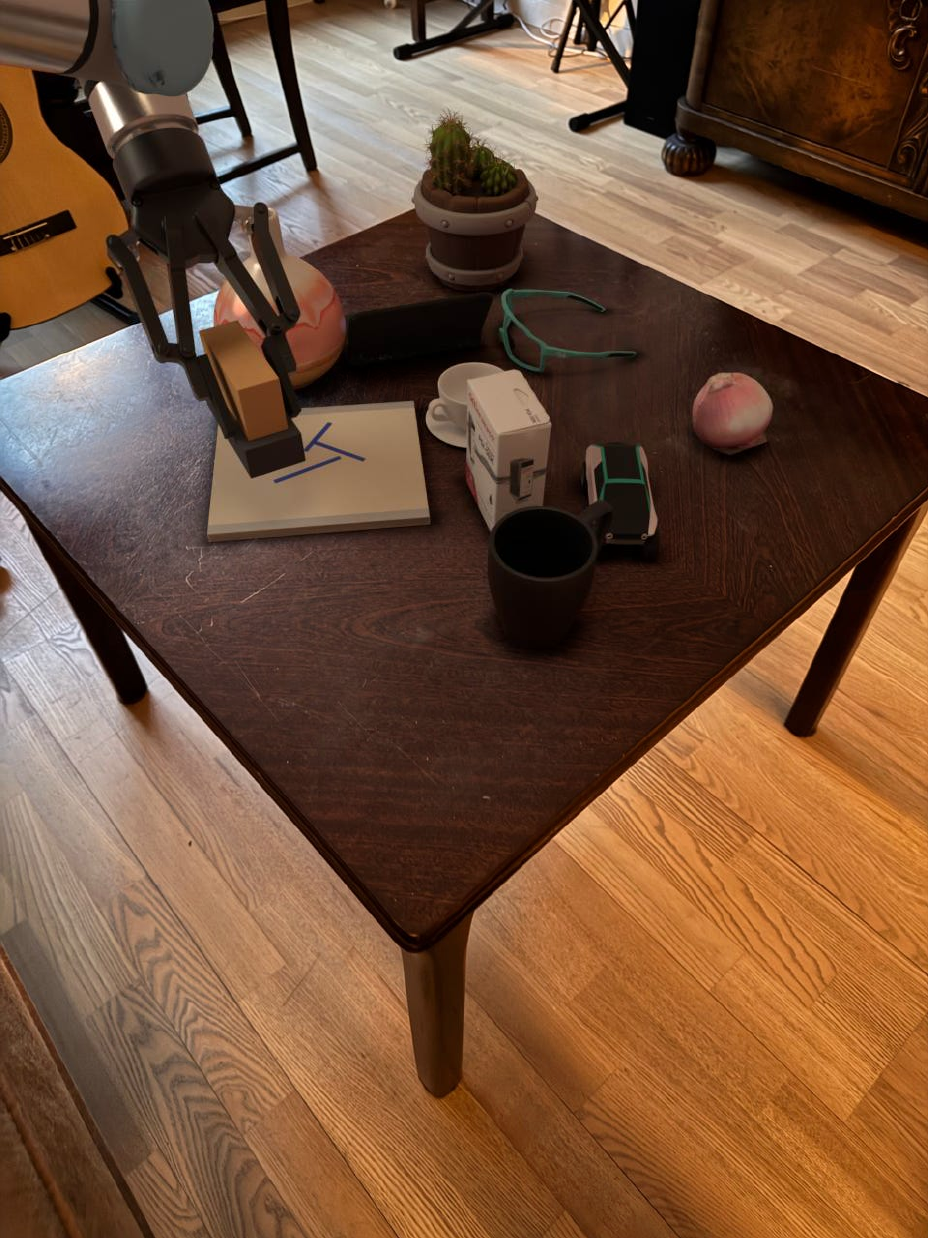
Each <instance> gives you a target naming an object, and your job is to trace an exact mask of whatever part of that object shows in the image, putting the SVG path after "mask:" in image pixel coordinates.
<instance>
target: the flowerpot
mask: <svg viewBox="0 0 928 1238" xmlns="http://www.w3.org/2000/svg"><path fill="white" fill-rule="evenodd" d="M446 109H447V111H448V114H447V113H446V111H445V110H443V109H442V112H443V113H444V114H445V116H443V115H442V114H441V113H439V115H440V116H437V119H436V120H435V121H436V122H437V121H438V122H437V124H435V126H437V127H435V128H434V127H433V126H434V124H432V125H431V128H428V129H427V132H428V133H427V135H426V136H428V135H431V136H430V137H429V139H428V140H429V141H427V138H424V139H425V144H421V145H422V146H424V147H425V148H427V149H426V150H424V153H425V155H427V154H431V155H430V156H429V157H428V156H425V158H426V159H425V160H426V162H425V164H424V165H425V166H424V167H426V166H427V165H428V166H427V167H426V170H425V171H423V174H422V177H421V179H420V180H419V181H418V182H417V184H416V185H415V186H414V190H413V196H412V198H411V200H410V201H411V203H412V204H413V206H414V210H415V213H416V215H417V216H418V218H419V219H420V221H422V222H423V223H424V224H425V227H426V231H427V234H428V239H429V243H428V244H427V245H426V248H425V256H424V259H425V260H426V261H427V263H428V264H427V265H428V266H429V268H430V270H431V271H432V272H433V274H434V275H435V276H437V277H438V279H439V280H440V281H441V283H442V284H443V285H445V286H446V287H448V288H451V289H453V290H457V291H462V292H475V291H476V293H483V292H489V291H494V290H495V289H496V287H500V288H501V287H503V286H504V285H505V284H507V282H508V280H511V279H512V277H513V275H515V274H516V272H517V271H518V270H519V267H520V265H521V261H522V260H523V258H524V251H523V248H522V245H521V244H522V241H523V238H524V237H523V236H524V233H525V229H526V224H527V223H528V222H530V220H531V219H532V218H533V217H534V216H535V213H536V209H537V205H538V203H537V202H538V201H539V196H538V195H537V193H536V189H535V186H534V185H533V184H532V182H531V181H530V180H529V179H528V178H527V176H526V174H525V172H524V171H523V170H522V169H521V168H516V163H515V162H513V161H517V158H516V159H512V160H511V161H510V159H511V158H509V159H508V161H506V160H505V159H504V158H506V157H507V156H509V154H507V155H504V156H503V157H501V156H496V155H495V153H494V151H495V150H496V149H497V147H495V148H494V150H492V149H493V147H492V146H490V147H487V146H484V145H486V144H488V145H490V143H489V142H487V140H488V139H489V138H485V139H484V140H482V139H480V138H481V135H479V137H473V136H474V135H475V134H476V132H475V133H474V132H471V130H472V128H471V127H469V126H467V127H466V126H465V125H468V122H467V121H464V120H463V119H464V117H463V115H461V116H459V115H458V116H457V114H458V113H459V112H460V110H458V111H457V112H455V111H453V116H452V114H451V111H450V109H449V108H448V107H446ZM463 121H464V122H463ZM467 128H469V131H467V130H468V129H467ZM481 141H483V142H481ZM480 142H481V143H480ZM490 148H491V149H490ZM512 162H513V163H514V164H513V165H514V166H513V165H512V164H511V163H512Z"/></svg>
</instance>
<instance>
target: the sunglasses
mask: <svg viewBox="0 0 928 1238" xmlns="http://www.w3.org/2000/svg"><path fill="white" fill-rule="evenodd" d="M536 296H547V297H552V298H555V299H568V300H572V301H574V302H575V301H576V302H579V303H581V304H584V305H586V306H588V307H590V308H592V309H594V310H596V311H598V312H600V313H603V312H605V311H607V309H606V308H605V307H603V306H602V305H600V304H598V303H596V302H594V301H592V300H590V299H589V298H586V297H584V296H582V295H579V294H577V293H573V292H570V291H558V290H557V291H556V290H545V289H544V290H543V289H541V290H540V289H513V288H508V289H507V290H505V291H504V292H503V293H502V295H501V297H500V300H501V306H502V309H503V311H504V316H503V322H502V327H499V328H498V338H499V342H501V343H502V344H503V347H504V350H505V353H506V356H507V357H508V358H509V359H510V360H511V362H513V363H514V364H516V365H518V366H519V367H521V368H522V369H525V370H528V371H531V372H535V373H542V372H545V368H546V362H547V357H551V358H552V357H553V358H558V359H561V360H563V359H569V358H579V359H580V358H581V359H592V360H593V359H594V360H601V359H608V358H634V356H636V355H637V352H636V351H622V350H621V351H618V350H617V351H616V350H615V351H614V350H613V351H612V350H610V351H602V352H585V351H575V350H569V349H563V348H558V347H553V346H549V345H548V344H547V343H546V342H544V341H543V340H541V339H539V338H538V337H536V336H535V335H533V334H532V333H531V332H530V330H529V329H528V328H527V327H526V326H524V325H523V323H521V321H519V320H518V319H517V318H516V317H515V315H514V300H516V299H524V300H526V299H528V298H532V297H536ZM511 322H513V323H514V324H515V325H516V326H517V327H518V328H519V329H520V330H521V331H523V333H524V335H525V336H526V337H528V338H529V339H530V340H532V341H533V342H535V343H537V344H538V345H539V346H540V361H539V367H535V366H532V365H529V364H526V363H524V362H522V361H520V360H519V359H518V358H516V357H515V356H514V355H513V353H512V352H513V351H515V349H516V348H517V346H516V343H515V340H514V338H513V336H512V335H511V333H510V331H509V328H508V327H509V326H510V324H511Z"/></svg>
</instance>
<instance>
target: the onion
mask: <svg viewBox="0 0 928 1238" xmlns="http://www.w3.org/2000/svg"><path fill="white" fill-rule="evenodd" d="M773 411H774V406H773V402H772V399H771V397H770V395H769V393H768V392H767V391H766V389H765V388H764V387H763V386H762V385H761V384H760V383H759V382H758V381H757V380H755V379H754V378H753V377H751V376H749V375H747V374H745V373H742V372H719V373H716V374H715V375H712V376H710V377H709V379H708V380H707V381H706V383H705V384H704V385H703V386H702V387H701V389H700V390H699V392H698V393H697V395H696V397H695V399H694V402H693V406H692V427H693V431H694V433H695V435H696V436H697V438H698V439H699V440H700V441H701V442H702V443H704V444H705V445H706V446H707V447H708V448H710V449H713V450H715V451H718V452H720V453H723V454H724V455H725V454H726V455H729V456H731V455H734V454H737V453H740V452H742V451H745V450H748V449H750V448H753V447H756V446H759V445H762V444H765V443H767V442H768V441H767V437H766V434H765V430H766V429H767V427H768V426H769V425H770V423H771V420H772V416H773Z"/></svg>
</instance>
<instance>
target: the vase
mask: <svg viewBox="0 0 928 1238" xmlns="http://www.w3.org/2000/svg"><path fill="white" fill-rule="evenodd" d="M267 207H268V215H269V232H270V234H271V237H272V239H273V242H274V245H275V247H276V250H277V252H278V255H279V258H280V260H281V263H282V265H283V268H284V270H285V273H286V276H287V278H288V281H289V283H290V286H291V289H292V291H293V294H294V296H295V299H296V301H297V304H298V307H299V309H300V313H301V315H300V318H299V320H298V322H297V323H296V325H295V327H294V328H292V329H290V330H289V331H287V332H286V338H287V340H288V343H289V345H290V348H291V351H292V353H293V356H294V359H295V361H296V372H295V374H294V375H291V376H289V378H290V381H291V383H292V386H293V389H294V391H296V390H300V389H303V388H306V387H308V386H310V385H312V384H313V383H315V382H316V381H317V380H319V379H320V377H322V376H324V375H325V374H326V373H328V372H329V371H330V370H331V369H332V367H334V365H335V364H336V362H338V359H339V358H340V356H341V354H342V352H343V351H344V350H343V347H344V344H345V340H346V319H345V315H346V314H345V309H344V306H343V303H342V301H341V299H340V296H339V294H338V293H337V291H336V289H335V288H334V286H333V284H332V283H331V282H330V281H329V280H328V278H327V277H326V276H325V275H324V274H323V273H322V272H321V271H320V270H319V269H317V268H316V267H315V266H313V265H312V264H310V263H308V262H307V261H305V260H303V259H302V258H299V257H297V256H295V255H293V254H290V253H289V252H286V249H285V245H284V238H283V234H282V228H281V223H280V217H279V212H278V211H277V210H276V209H275V208H273V207H271V206H267ZM248 241H249V246H250V248H249V249H250V253H251V255H250V256H249V257H248V258H246V259H244V261H242V263H243V265H244V266H245V268H246V269H247V271H248V272H249V274H250V275H251V277H252V278H253V280H254V281H255V283H256V284H257V286H258V287H259V289H260V290H261V292H262V293H263V295H264V296H265V298H266V299H267V301H268V302H269V303H270V305H271V306H272V308H273V309H274V311H275V312H276V314H277V315H278V316H279V313H278V311H277V308H276V306H275V303H274V300H273V298H272V295H271V293H270V290H269V288H268V285H267V283H266V280H265V277H264V275H263V272H262V270H261V267H260V265H259V262H258V260H257V257H256V254H255V252H254V249H253V246H252V241H251V236H248ZM212 315H213V316H212V319H213V320H212V321H213V323H212V324H213V327H214V326H218V325H222V324H225V323H229V322H233V321H238V322H239V323H240V325H241V326H242V327H243V329H244V330H245V332H246V333H247V334H248V336H249V337H250V339H251V340H252V341H253V343H254V344H255V346H256V347H257V348H258V350H259V351H260V353H261V354H262V355H263V357H264V354H263V352H262V349H261V345H262V342H263V340H264V338H265V337H266V336H265V335H264V334H263V332H262V331H261V329H260V328H259V326H258V325H257V323H256V322H255V320H254V319H253V317H252V316H251V314H250V313H249V311H248V310H247V308H246V307H245V306H244V304H243V303H242V301H241V300H240V298H239V297H238V295H237V294H236V292H235V291H234V289H233V288H232V286H231V285H230V283H229V282H228V280H227V279H226V278H225V279H224V281H223V283H222V285H221V287H220V288H219V291H218V293H217V295H216V299H215V302H214V307H213V314H212ZM264 358H265V357H264Z"/></svg>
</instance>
